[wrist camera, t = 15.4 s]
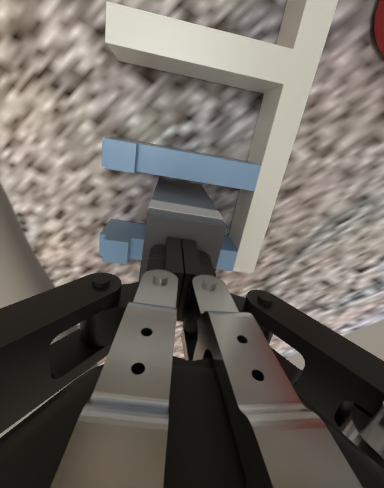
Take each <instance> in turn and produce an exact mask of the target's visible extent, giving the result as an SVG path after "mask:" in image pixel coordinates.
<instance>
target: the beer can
mask: <svg viewBox="0 0 384 488" xmlns="http://www.w3.org/2000/svg"><path fill="white" fill-rule="evenodd" d="M374 33H375V38H376V43H377V46H378V48H379V49H380V51H381V52H382V54H383V56H384V0H379V3H378V7H377V10H376V14H375V24H374Z"/></svg>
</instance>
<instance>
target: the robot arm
mask: <svg viewBox="0 0 384 488" xmlns="http://www.w3.org/2000/svg"><path fill="white" fill-rule="evenodd" d="M176 315H177V321H183V329H182V334H181V337H182V344H183V351H184V358H185V359H181V358H178V357H174V356H173V348H174V337H175V325H176ZM78 323H80V329H78V330H76V331H74V332H72V333H71V334H69V335H67V336H65V337H64V338H62V339H60V340H58V341H56V342H55V343H53V344H51V342H52V341H53V339H54V338H55V337H56V336H57V335H59V334H60V333H62V332H64V331H66V330H67V329H69V328H71V327H73V326H75V325H77V324H78ZM273 334H275V335H276V336H277V337H279V338H280V339H282V340H283V341H284V342H286V343H287V344H289V345H290V346H291V347H293V348H294V349H296V350H297V351H298V352H299V353H300V354H301V355H302V356H303V358H304V360H305V367H304V369H303V370H300V369H299V368H297V367H296V366H294V365H293V364H292V363H290V362H289V361H288V360H286V359H285V358H284V357H283V356H281V355H280V354H279V353H278V352H276V351H275V350H274V349H272V348H271V347H270V345H269V343H270V340H271V338H272V335H273ZM50 344H51V345H50ZM107 355H108V356H107ZM106 356H107V358H106V361H105V364H103V365H101V366H98V367H96V368H94V369H92V370H90V371H88V372H86V373H84V372H85V371H86V370H88V369H89V368H91V367H92V366H93V365H94V364H96V363H97V362H99V361H100V360H101V359H103V358H104V357H106ZM82 373H84V374H83V375H81V374H82ZM80 375H81V376H80ZM78 376H80V377H79V378H77V377H78ZM76 378H77V379H76ZM74 379H76V380H74ZM72 380H74V381H73V382H72V383H70V382H71V381H72ZM69 383H70V384H69ZM67 384H69V385H68V386H67V387H65V386H66V385H67ZM63 387H65V388H64V389H63V390H61V391H60V392H59V393H58V394H56V395H55V396H54V397H52V398H51V399H50V400H48V401H47V402H46V403H45V404H43V405H42V406H41V407H40V408H38V409H37V410H36V411H34V412H33V413H32V414H31V415H29V416H28V417H27V418H26V419H24V420H23V421H22V422H20V423H19V424H18V425H16V426H15V427H14V428H13V429H11V430H10V431H9V432H7V433H6V434H5V435H4V436H2V437H1V438H0V488H384V361H383V360H381V359H379V358H377V357H376V356H374V355H372V354H371V353H369V352H368V351H366V350H364V349H363V348H361V347H359V346H358V345H356V344H354V343H353V342H351V341H349V340H348V339H346V338H344V337H343V336H341V335H339V334H338V333H336V332H334V331H333V330H331V329H329V328H328V327H326V326H324V325H323V324H321V323H319V322H318V321H316V320H314V319H313V318H311V317H309V316H308V315H306V314H304V313H303V312H301V311H299V310H298V309H296V308H294V307H293V306H291V305H289V304H288V303H286V302H284V301H283V300H281V299H279V298H278V297H276V296H274V295H273V294H271V293H269V292H266V291H262V290H251V291H249V292H248V293H247V296H246V298H243V297H240V296H237V295H234V294H231V293H230V292H229V290H228V288H227V286H226V284H225V283H224V282H223V281H222V280H220V279H219V278H217V277H216V274H215V271H214V268H213V265H212V262H211V259H210V256H209V255H208V254H207V253H206V252H205V251H200V250H198V249H197V245H196V241H192V240H185V239H182V240H181V239H177V238H170V237H167V239H166V246H160V245H155V246H153V247H152V248H151V249H150V254H149V259H148V264H147V270H146V272H145V273H144V274H143V276H142V279H141V281H139V282H136V283H132V284H124V285H121V280H120V279H119V278H118V277H117V276H115V275H112V274H109V273H94V274H90V275H87V276H85V277H82V278H79V279H77V280H74V281H72V282H69V283H66V284H64V285H61V286H59V287H56V288H53V289H51V290H48V291H46V292H43V293H40V294H38V295H35V296H32V297H30V298H27V299H25V300H22V301H20V302H17V303H14V304H12V305H9V306H6V307H4V308H1V309H0V433H2V432H3V431H4V430H6V429H7V428H9V427H10V426H11V425H13V424H14V423H15V422H17V421H18V420H20V419H21V418H22V417H24V416H25V415H26V414H28V413H29V412H30V411H32V410H33V409H35V408H36V407H37V406H39V405H40V404H41V403H43V402H44V401H45V400H47V399H48V398H50V397H51V396H52V395H54V394H55V393H56V392H58V391H59V390H60V389H62V388H63Z"/></svg>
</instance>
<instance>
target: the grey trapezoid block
mask: <svg viewBox="0 0 384 488" xmlns="http://www.w3.org/2000/svg"><path fill="white" fill-rule="evenodd" d="M226 228H227V226H226V225H225V223H224V222H223V217H222V216H221V214H220V213H219V211H217V210H216V208H215V207H214V205H213V203H212V202H211V200H210V198H209V197H208V195H207V193H206V192H205V190H204V188H203V187H202V185H200V184H194V183H189V182H183V181H178V180H172V179H167V178H162V177H159V180H158V183H157V186H156V189H155V192H154V195H153V198H152V200H151V201H150V204H149V206H148V213H147V219H146V227H145V235H144V243H143V252H142V260H141V268H140V276H139V281H141V279H142V276H143V274H144V273H145V272H146V270H147V264H148V259H149V254H150V249H151V248H152V247H153V246H155V245H160V246H166V239H167V237H170V238H177V239H181V240H182V239H185V240H192V241H196V245H197V249H198V250H200V251H205V252H206V253H207V254H208V255H209V256H210V259H211V262H212V265H213V268H214V271H216V267H217V263H218V259H219V255H220V251H221V247H222V244H223V240H224V236H225V232H226Z"/></svg>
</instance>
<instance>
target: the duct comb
mask: <svg viewBox="0 0 384 488" xmlns="http://www.w3.org/2000/svg"><path fill="white" fill-rule="evenodd" d="M337 3H338V0H287V3H286V7H285V11H284V15H283V19H282V23H281V27H280V31H279V35H278V39H277V43H276V45H275V44H272V43H268V42H264V41H260V40H256V39H252V38H248V37H244V36H240V35H236V34H232V33H229V32H225V31H221V30H217V29H213V28H209V27H205V26H201V25H197V24H193V23H190V22H186V21H182V20H178V19H174V18H170V17H166V16H162V15H158V14H154V13H150V12H147V11H143V10H139V9H135V8H131V7H127V6H123V5H119V4H115V3H111V2H106V38H105V43H106V44H107V45H108V47H109V48H110V50H111V51H112V53H113V54H114V55H115V57H116V58H117V60H118V61H121V62H126V63H130V64H134V65H139V66H143V67H148V68H152V69H157V70H161V71H165V72H170V73H174V74H179V75H183V76H188V77H192V78H197V79H201V80H205V81H210V82H214V83H219V84H223V85H228V86H232V87H236V88H241V89H245V90H250V91H254V92H259V93H263V94H264V96H263V100H262V104H261V108H260V112H259V116H258V120H257V124H256V128H255V132H254V136H253V140H252V144H251V148H250V152H249V156H248V160H247V161H242V160H237V159H231V158H226V157H221V156H215V155H210V154H204V153H199V152H193V151H188V150H182V149H177V148H172V147H166V146H161V145H155V144H150V143H144V142H139V141H134V140H128V139H123V138H117V137H103V144H102V166H105V169H111V170H117V171H123V172H129V173H135V172H142V173H148V174H154V175H160V176H166V177H172V178H178V179H184V180H190V181H195V182H201V183H207V184H213V185H219V186H225V187H231V188H237V189H240V192H239V196H238V200H237V204H236V208H235V212H234V216H233V220H232V224H231V228H230V232H229V236H228V235H225V236H224V240H223V244H222V247H221V251H220V255H219V259H218V263H217V267H216V269H219V270H227V271H235V272H244V273H252V274H253V272H254V269H255V266H256V263H257V259H258V256H259V253H260V250H261V246H262V243H263V240H264V237H265V234H266V230H267V227H268V224H269V221H270V218H271V214H272V211H273V208H274V205H275V202H276V198H277V195H278V192H279V189H280V186H281V182H282V179H283V176H284V173H285V170H286V166H287V163H288V160H289V157H290V154H291V150H292V147H293V144H294V141H295V138H296V134H297V131H298V128H299V125H300V122H301V118H302V115H303V112H304V109H305V106H306V102H307V99H308V96H309V93H310V90H311V86H312V83H313V80H314V77H315V73H316V70H317V67H318V64H319V61H320V57H321V54H322V51H323V48H324V45H325V41H326V38H327V35H328V32H329V29H330V25H331V22H332V19H333V16H334V13H335V9H336V6H337ZM145 227H146V224H142V223H135V222H128V221H120V220H113V219H111V220H110V221H109V223H108V224H107V225H106V227H105V228H104V229H103V231H102V232H101V233H100V250H99V255H101V256H102V261H103V262H112V263H120V264H127V262H128V260H129V259H134V260H142V252H143V243H144V235H145Z"/></svg>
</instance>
